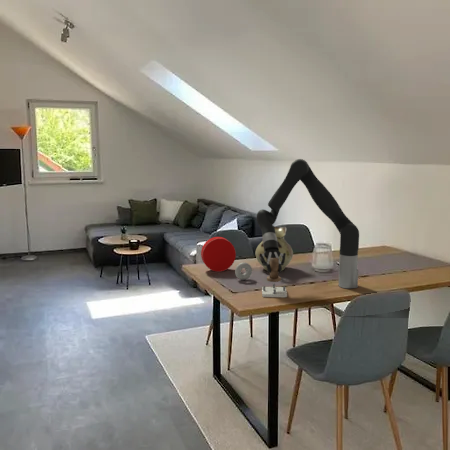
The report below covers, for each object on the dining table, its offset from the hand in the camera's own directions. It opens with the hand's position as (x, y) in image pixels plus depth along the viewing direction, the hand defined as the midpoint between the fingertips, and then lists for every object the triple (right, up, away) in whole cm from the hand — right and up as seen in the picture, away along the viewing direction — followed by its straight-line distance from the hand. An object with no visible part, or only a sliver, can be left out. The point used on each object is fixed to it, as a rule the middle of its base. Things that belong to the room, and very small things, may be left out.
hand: (274, 271), depth 232 cm
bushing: (0, -4, +3) cm, 5 cm away
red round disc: (-29, -4, +49) cm, 57 cm away
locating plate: (0, -11, +4) cm, 12 cm away
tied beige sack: (+5, -4, +51) cm, 51 cm away
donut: (-14, -8, +28) cm, 33 cm away
